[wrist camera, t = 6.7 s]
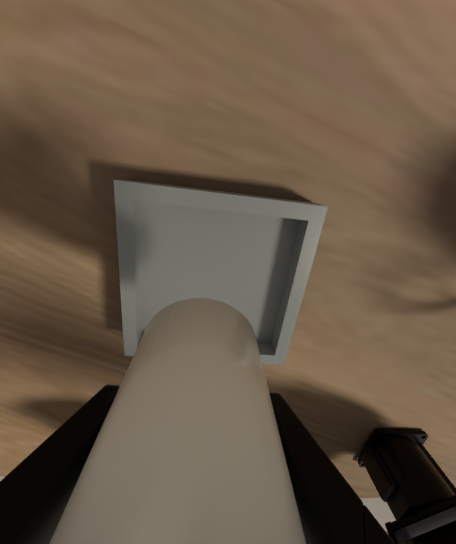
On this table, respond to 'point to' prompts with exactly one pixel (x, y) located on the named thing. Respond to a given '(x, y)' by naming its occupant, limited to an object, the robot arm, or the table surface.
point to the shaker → (187, 443)
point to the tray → (214, 256)
